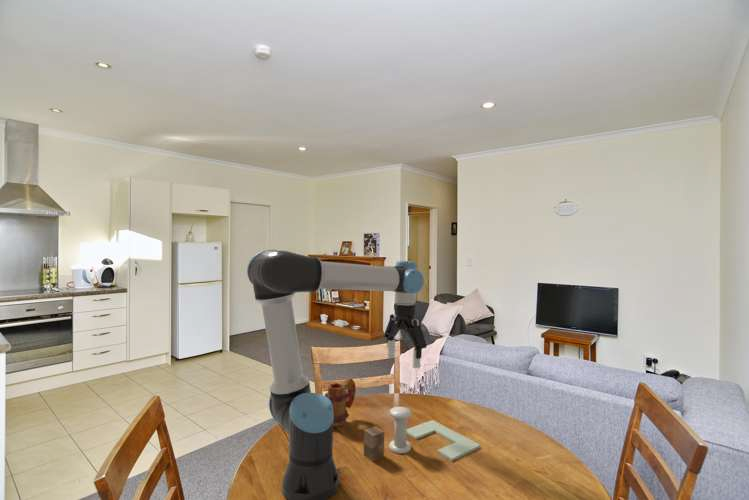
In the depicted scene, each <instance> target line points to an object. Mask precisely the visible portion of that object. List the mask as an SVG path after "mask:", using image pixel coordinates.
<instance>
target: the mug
mask: <svg viewBox="0 0 749 500" xmlns="http://www.w3.org/2000/svg"><path fill="white" fill-rule="evenodd" d="M356 389H357V388H356V382H355V380H353V379H352V378H350V377H346V378H345V379H344V381H343V383H341V382H340V383H339V382H334V383H331V384H329V385H328V386H327V392H326V393H325V394H324V396H326V397H327V398H328V399H329V400H330V401H331V402H332V405H333V412H334V420H333V427H340V426H341V427H342V426H343V425H344V424H346V422H347V418H348V417H349V416H350V415H349V413H348V410H347V409H346V408H349V409H350V408H351V407H352V405H353V403H354V400H355V397H356ZM346 390H347V391H346Z"/></svg>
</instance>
